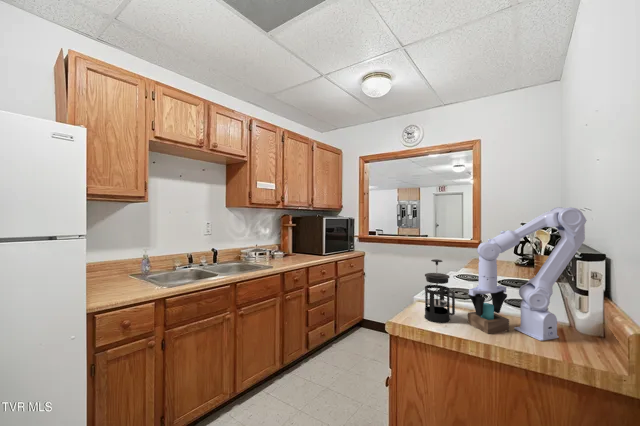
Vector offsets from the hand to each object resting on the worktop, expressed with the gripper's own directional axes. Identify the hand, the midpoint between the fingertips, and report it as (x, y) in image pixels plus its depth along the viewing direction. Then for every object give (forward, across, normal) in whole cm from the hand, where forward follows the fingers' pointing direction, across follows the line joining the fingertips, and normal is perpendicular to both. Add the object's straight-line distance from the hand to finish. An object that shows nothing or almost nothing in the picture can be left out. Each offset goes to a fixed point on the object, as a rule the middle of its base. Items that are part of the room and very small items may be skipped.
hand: (487, 313), depth 101 cm
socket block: (+5, 0, 0) cm, 5 cm away
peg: (+5, 0, 0) cm, 5 cm away
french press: (+5, +12, -11) cm, 17 cm away
